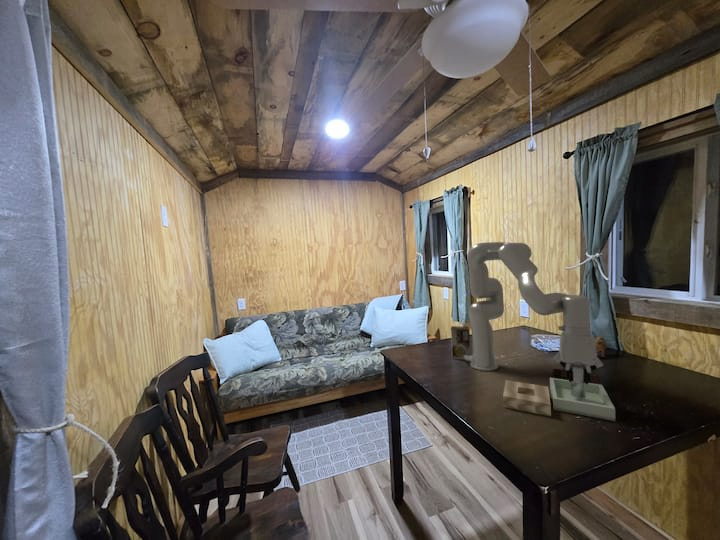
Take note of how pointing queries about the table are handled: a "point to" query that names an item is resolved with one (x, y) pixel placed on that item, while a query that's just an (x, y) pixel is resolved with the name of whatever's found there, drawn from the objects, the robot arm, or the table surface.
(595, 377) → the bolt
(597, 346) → the lion figurine
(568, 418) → the table surface
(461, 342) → the coffee box
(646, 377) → the table surface
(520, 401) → the socket block
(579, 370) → the pin
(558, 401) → the tray
